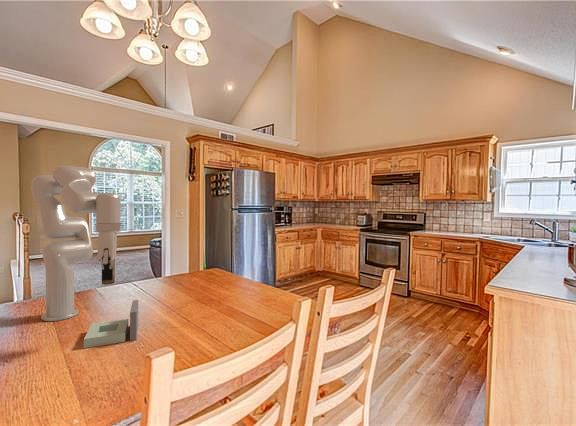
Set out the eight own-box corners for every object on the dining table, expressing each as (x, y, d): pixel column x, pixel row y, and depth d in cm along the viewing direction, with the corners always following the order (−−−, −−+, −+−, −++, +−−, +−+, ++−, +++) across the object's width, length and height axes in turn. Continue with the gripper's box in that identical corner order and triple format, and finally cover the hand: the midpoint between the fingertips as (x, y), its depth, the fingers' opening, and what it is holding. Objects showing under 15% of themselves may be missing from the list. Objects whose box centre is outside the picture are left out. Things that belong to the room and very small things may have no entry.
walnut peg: (102, 282, 107) (102, 254, 107) (115, 281, 109) (115, 254, 108) (100, 285, 103) (100, 256, 103) (114, 284, 105) (114, 256, 105)
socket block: (91, 331, 110) (91, 323, 110) (128, 326, 115) (128, 318, 115) (83, 348, 98) (83, 339, 98) (125, 341, 103) (125, 333, 102)
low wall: (132, 325, 116) (132, 300, 116) (138, 324, 117) (138, 299, 116) (130, 340, 103) (130, 312, 103) (136, 339, 104) (136, 311, 104)
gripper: (99, 226, 111) (99, 274, 112) (91, 230, 96) (91, 285, 97) (122, 225, 115) (122, 272, 115) (117, 229, 99) (117, 283, 100)
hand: (108, 278), depth 106 cm, fingers closed on walnut peg, 4 cm apart
